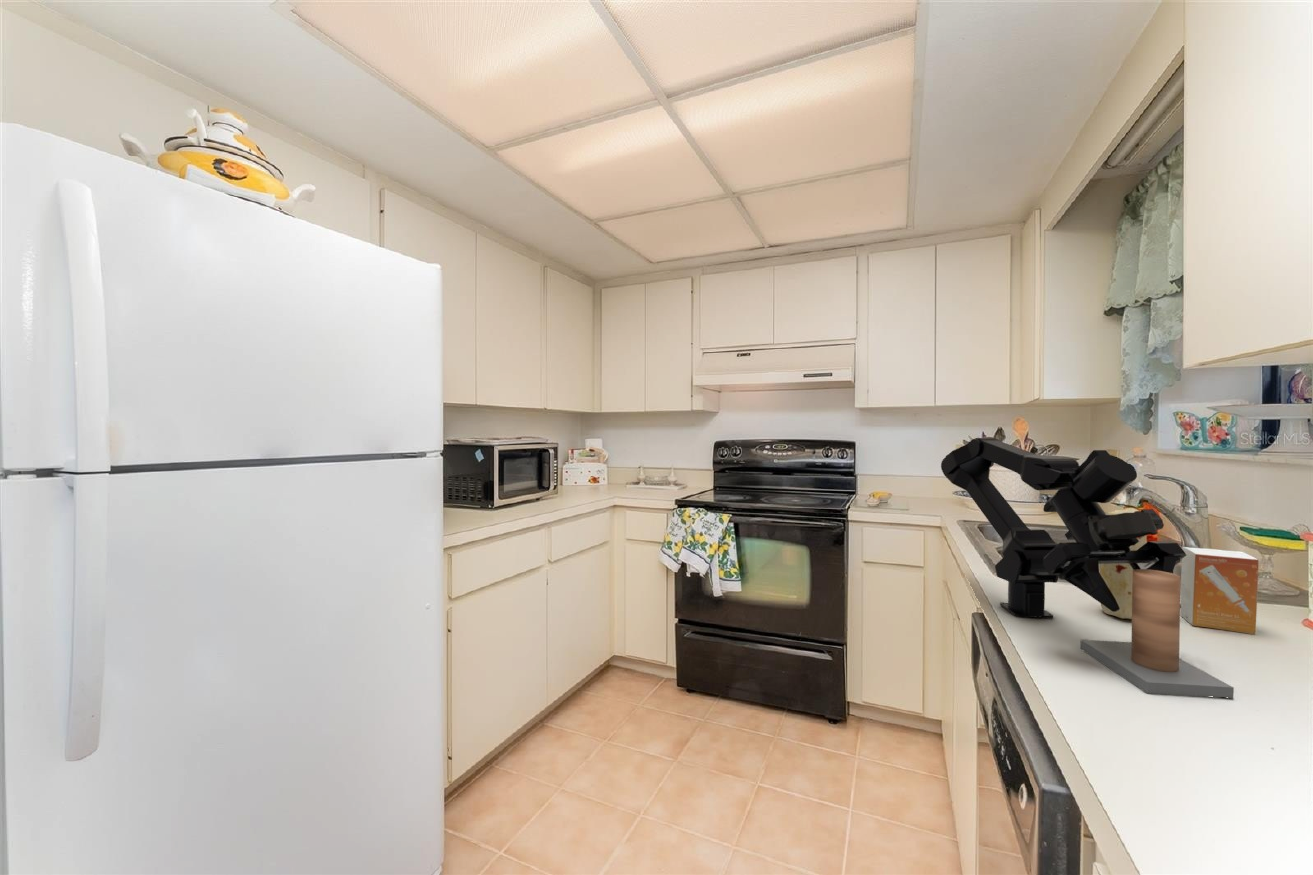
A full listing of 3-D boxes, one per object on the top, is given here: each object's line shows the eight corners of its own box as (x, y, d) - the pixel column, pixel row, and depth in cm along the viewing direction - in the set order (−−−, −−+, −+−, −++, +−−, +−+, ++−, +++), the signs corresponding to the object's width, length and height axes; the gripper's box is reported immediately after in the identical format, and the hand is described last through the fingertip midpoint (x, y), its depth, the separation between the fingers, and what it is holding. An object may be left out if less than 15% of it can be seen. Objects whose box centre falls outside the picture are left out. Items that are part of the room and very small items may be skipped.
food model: (1149, 627, 94) (1151, 514, 93) (1099, 618, 98) (1102, 510, 97) (1144, 611, 101) (1146, 506, 101) (1098, 604, 106) (1100, 503, 105)
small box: (1192, 626, 94) (1194, 553, 94) (1179, 615, 100) (1181, 545, 99) (1257, 635, 90) (1260, 559, 90) (1240, 623, 96) (1242, 550, 95)
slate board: (1080, 648, 85) (1080, 639, 85) (1151, 652, 83) (1151, 643, 83) (1146, 693, 71) (1147, 682, 71) (1233, 698, 70) (1233, 687, 70)
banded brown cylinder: (1129, 653, 80) (1131, 567, 80) (1175, 662, 77) (1177, 572, 77) (1132, 665, 76) (1134, 574, 76) (1181, 675, 73) (1183, 581, 73)
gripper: (1058, 490, 82) (1122, 584, 71) (1175, 489, 82) (1255, 582, 72) (1020, 530, 90) (1072, 620, 79) (1127, 529, 91) (1192, 617, 80)
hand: (1147, 610), depth 77 cm, fingers open, 9 cm apart
